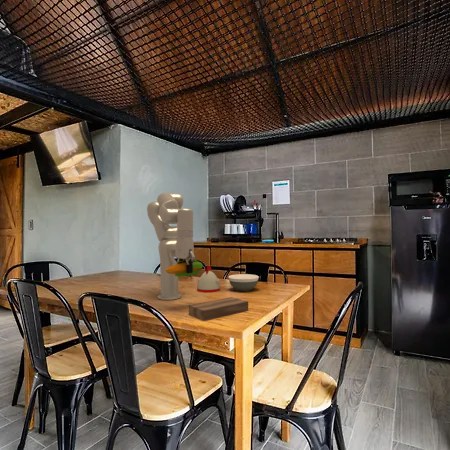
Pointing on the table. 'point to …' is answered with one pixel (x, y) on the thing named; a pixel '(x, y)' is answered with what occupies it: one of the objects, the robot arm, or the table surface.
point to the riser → (218, 308)
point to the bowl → (243, 281)
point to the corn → (184, 269)
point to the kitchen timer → (208, 282)
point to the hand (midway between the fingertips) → (185, 271)
